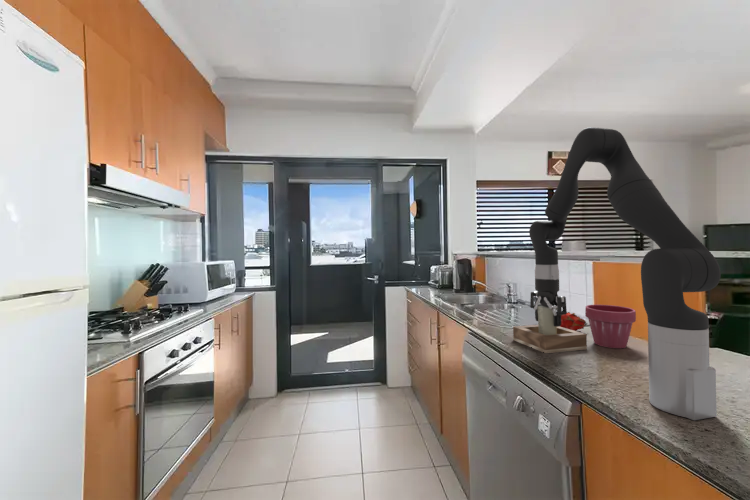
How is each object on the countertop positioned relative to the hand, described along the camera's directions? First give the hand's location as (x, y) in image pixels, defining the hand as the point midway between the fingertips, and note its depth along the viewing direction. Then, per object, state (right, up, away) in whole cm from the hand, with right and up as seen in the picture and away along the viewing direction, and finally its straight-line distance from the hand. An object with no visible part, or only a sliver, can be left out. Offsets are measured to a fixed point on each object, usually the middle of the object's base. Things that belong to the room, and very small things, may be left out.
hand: (547, 323), depth 112 cm
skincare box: (0, -7, 0) cm, 7 cm away
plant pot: (+21, -7, -1) cm, 22 cm away
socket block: (0, -7, 0) cm, 7 cm away
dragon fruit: (+19, -7, +18) cm, 27 cm away
